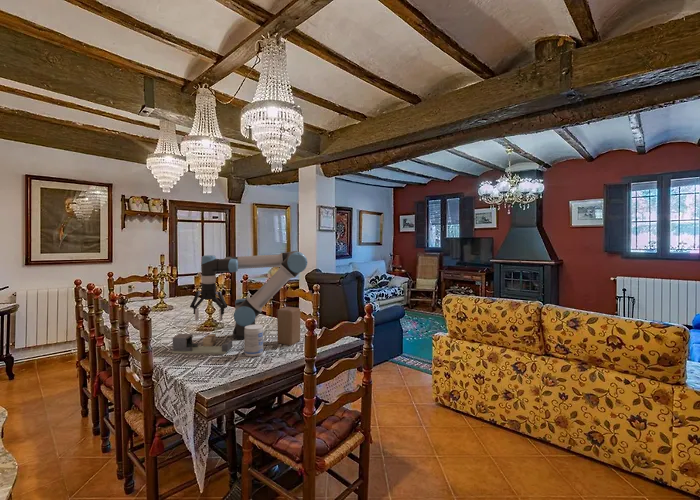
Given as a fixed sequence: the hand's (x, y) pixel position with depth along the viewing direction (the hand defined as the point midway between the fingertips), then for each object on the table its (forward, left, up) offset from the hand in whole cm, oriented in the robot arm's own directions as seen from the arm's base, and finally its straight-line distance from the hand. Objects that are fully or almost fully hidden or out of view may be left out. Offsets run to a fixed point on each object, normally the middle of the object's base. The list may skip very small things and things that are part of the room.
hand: (208, 320), depth 203 cm
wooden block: (-44, -6, -14) cm, 47 cm away
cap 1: (+9, +10, -13) cm, 19 cm away
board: (0, +10, -14) cm, 17 cm away
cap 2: (-14, +10, -13) cm, 21 cm away
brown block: (0, 0, -14) cm, 14 cm away
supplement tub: (-29, +14, -14) cm, 35 cm away
